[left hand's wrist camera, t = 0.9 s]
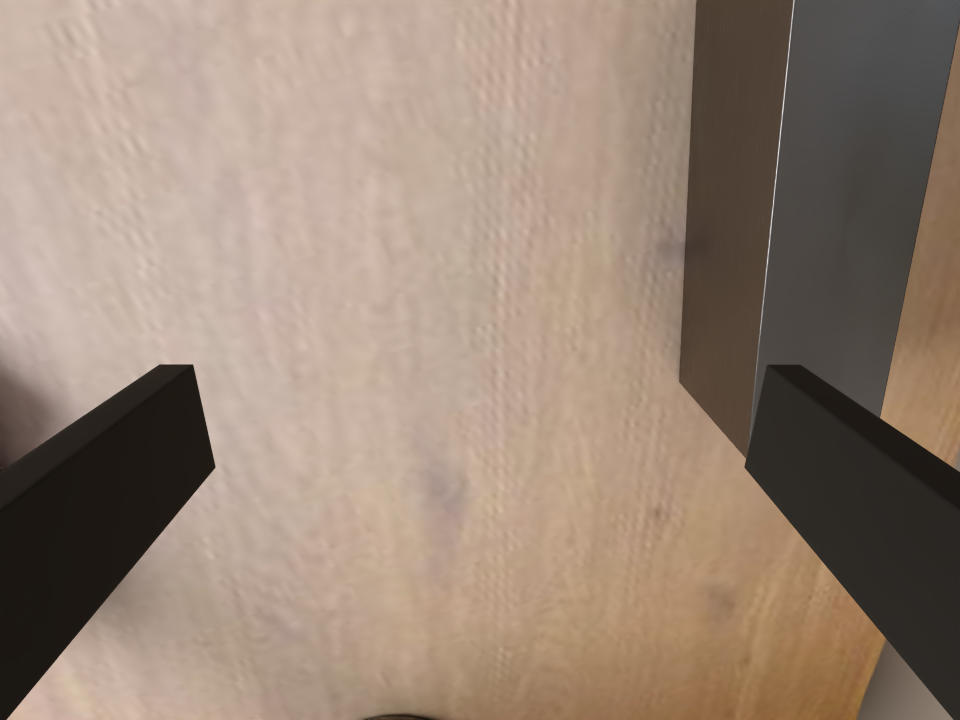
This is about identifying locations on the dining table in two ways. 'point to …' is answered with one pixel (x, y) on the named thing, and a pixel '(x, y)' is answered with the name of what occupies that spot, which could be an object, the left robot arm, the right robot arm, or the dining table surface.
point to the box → (805, 191)
